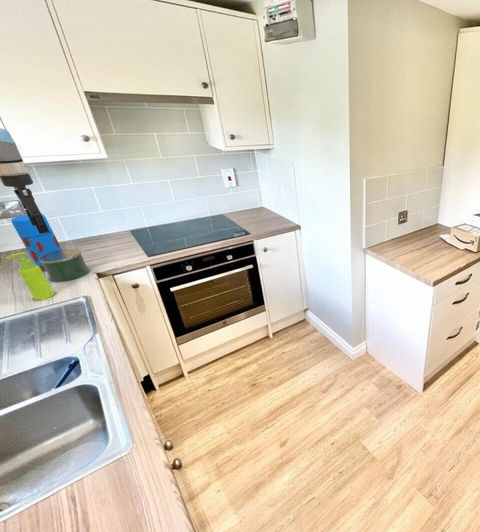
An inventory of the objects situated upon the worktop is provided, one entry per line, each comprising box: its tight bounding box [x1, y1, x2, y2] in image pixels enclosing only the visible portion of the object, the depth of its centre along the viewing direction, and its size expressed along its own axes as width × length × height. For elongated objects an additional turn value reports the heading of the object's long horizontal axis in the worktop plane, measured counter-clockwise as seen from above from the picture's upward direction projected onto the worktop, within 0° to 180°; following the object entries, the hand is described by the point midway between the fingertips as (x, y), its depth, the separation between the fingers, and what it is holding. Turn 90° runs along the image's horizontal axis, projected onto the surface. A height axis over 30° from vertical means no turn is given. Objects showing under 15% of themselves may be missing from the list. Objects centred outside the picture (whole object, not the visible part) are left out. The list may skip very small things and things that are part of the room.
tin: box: [39, 248, 90, 283], centre depth 148 cm, size 14×14×10 cm
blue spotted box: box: [10, 213, 63, 272], centre depth 152 cm, size 11×11×25 cm
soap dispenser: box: [5, 251, 55, 301], centre depth 129 cm, size 6×7×20 cm
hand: (40, 228), depth 127 cm, fingers open, 13 cm apart
